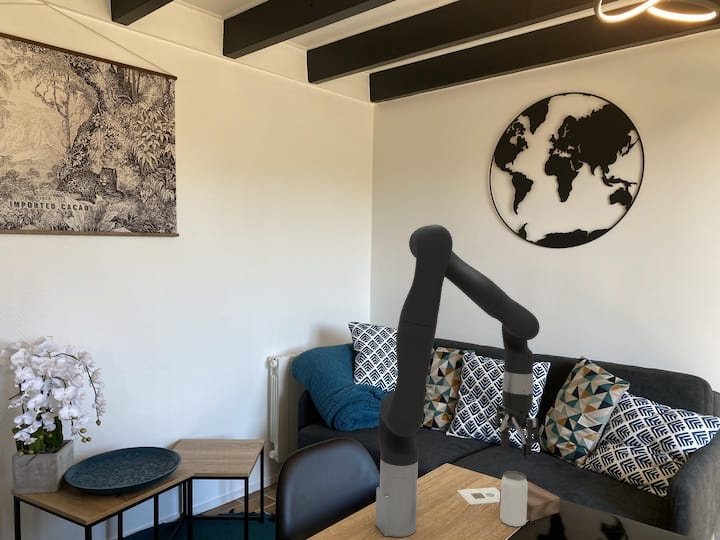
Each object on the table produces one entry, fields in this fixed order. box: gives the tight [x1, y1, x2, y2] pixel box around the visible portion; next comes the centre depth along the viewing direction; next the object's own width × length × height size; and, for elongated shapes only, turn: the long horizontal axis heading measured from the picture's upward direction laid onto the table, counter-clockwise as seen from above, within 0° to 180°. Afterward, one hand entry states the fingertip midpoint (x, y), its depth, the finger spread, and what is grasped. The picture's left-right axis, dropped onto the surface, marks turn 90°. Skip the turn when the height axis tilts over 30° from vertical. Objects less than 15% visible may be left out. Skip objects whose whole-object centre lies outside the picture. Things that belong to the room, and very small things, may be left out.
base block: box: [499, 480, 561, 522], centre depth 147 cm, size 11×11×4 cm
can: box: [499, 470, 528, 528], centre depth 139 cm, size 6×6×12 cm
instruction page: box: [456, 486, 500, 506], centre depth 154 cm, size 12×9×1 cm
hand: (515, 452), depth 139 cm, fingers open, 8 cm apart
